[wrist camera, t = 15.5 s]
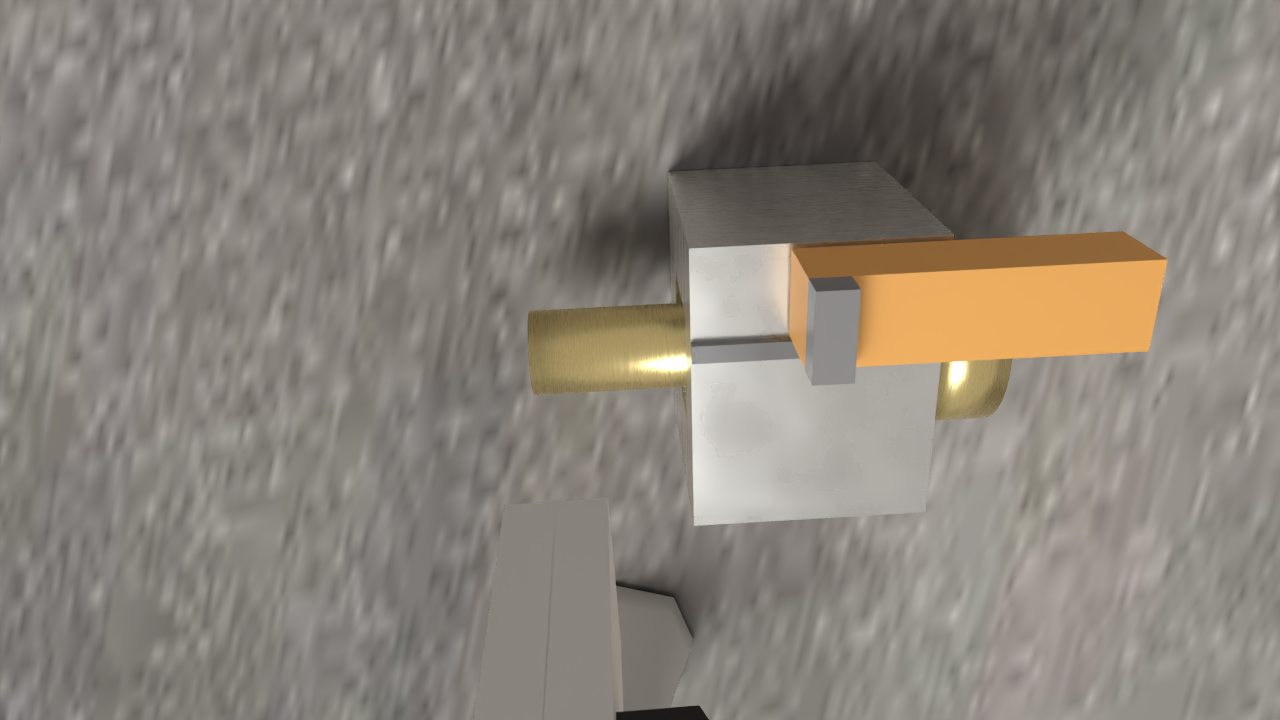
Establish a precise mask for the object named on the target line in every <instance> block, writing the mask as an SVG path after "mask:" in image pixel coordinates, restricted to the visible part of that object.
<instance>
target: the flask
mask: <svg viewBox="0 0 1280 720" xmlns="http://www.w3.org/2000/svg"><path fill="white" fill-rule="evenodd" d="M616 592H617V603H618V614H619V625H620V636H621V657H622V685H623V711H635V710H648V709H661V708H670V707H671V704H672V701H673V697H674V694H675V691H676V689H677V686H678V683H679V681H680V678H681V675H682V672H683V670H684V667H685V664H686V662H687V659H688V656H689V653H690V650H691V647H692V644H693V638H692V636H691V634H690V632H689V630H688V628H687V625H686V623H685V621H684V619H683V617H682V615H681V612H680V610H679V608H678V606H677V604H676V602H675V599H674V597H669V596H664V595H659V594H654V593H649V592H644V591H639V590H635V589H630V588H625V587H620V586H616Z"/></svg>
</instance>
